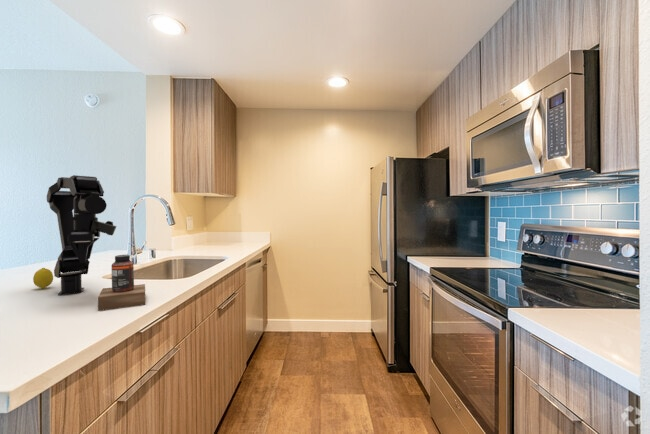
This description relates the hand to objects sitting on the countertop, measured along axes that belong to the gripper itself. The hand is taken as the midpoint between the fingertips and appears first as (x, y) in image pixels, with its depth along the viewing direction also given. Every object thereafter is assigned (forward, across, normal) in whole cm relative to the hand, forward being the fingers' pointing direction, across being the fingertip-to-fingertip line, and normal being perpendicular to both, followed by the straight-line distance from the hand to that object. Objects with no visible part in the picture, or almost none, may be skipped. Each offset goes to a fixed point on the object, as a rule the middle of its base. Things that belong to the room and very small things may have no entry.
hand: (85, 260), depth 100 cm
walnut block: (+13, -10, -11) cm, 20 cm away
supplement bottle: (+9, -10, -11) cm, 17 cm away
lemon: (+13, +25, +16) cm, 32 cm away
